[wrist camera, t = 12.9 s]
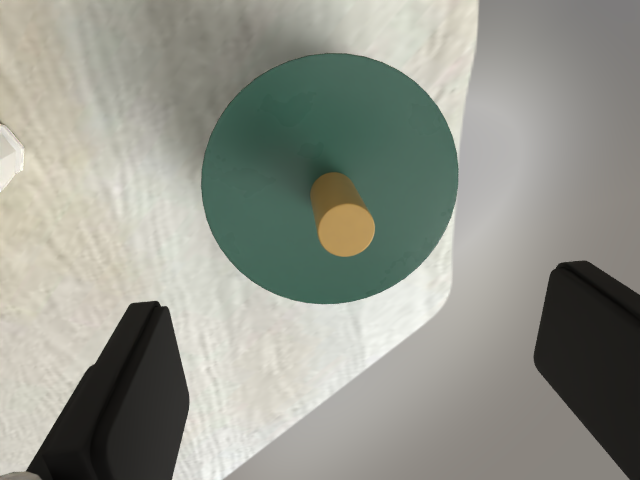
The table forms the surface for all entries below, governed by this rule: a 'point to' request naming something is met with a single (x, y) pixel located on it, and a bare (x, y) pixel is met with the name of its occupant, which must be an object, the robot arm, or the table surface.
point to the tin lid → (329, 178)
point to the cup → (9, 156)
